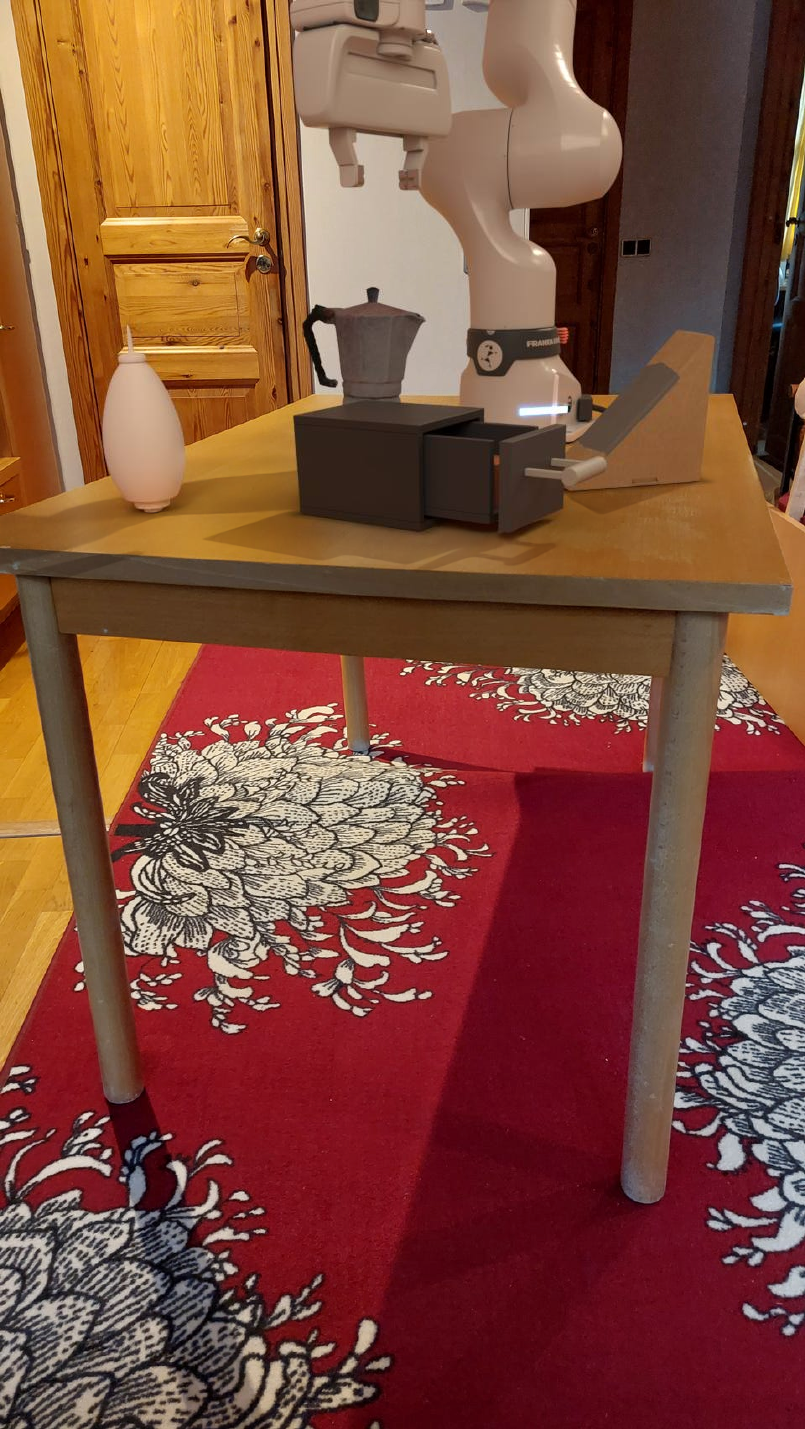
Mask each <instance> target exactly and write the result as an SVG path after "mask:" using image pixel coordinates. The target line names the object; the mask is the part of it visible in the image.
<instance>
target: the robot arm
mask: <svg viewBox="0 0 805 1429" xmlns="http://www.w3.org/2000/svg"><path fill="white" fill-rule="evenodd" d="M577 3H578V2H577V0H489V4H488V12H487V18H486V28H485V36H484V43H483V51H482V52H483V53H482V61H481V68H482V69H481V70H482V75H483V80H484V82H485V84H486V86H487V88H488V89H489V91H490V92H491V94H492V95H493V96H494V98H496V100H497V101H498V102H500V104H502V105H503V106H504V108H502V107H501V108H486V109H475V110H474V109H473V110H462V111H458V112H453V113H452V100H451V99H452V98H451V87H450V86H451V85H450V76H449V68H448V63H447V60H446V58H445V55H444V53H443V50H442V46H441V45H439V43H438V41H437V39H436V37H435V36H436V35H435V33H434V31H432V30H430V29H428V28H426V0H293V1H292V2H291V4H290V7H289V17H290V23H291V27H292V29H293V30H294V31H295V32H297V33H298V34H297V35H296V36H295V38H294V41H293V45H292V46H293V48H292V70H293V71H292V72H293V91H294V98H295V107H296V112H297V114H298V116H299V118H300V120H301V122H302V124H303V126H304V127H306V128H312V129H321V130H327V131H328V144H329V147H330V149H331V152H332V154H333V156H334V159H335V161H336V164H337V166H338V172H339V184H340V186H341V187H342V188H347V189H350V188H352V189H354V188H355V189H356V188H362V187H363V186H364V185H365V177H364V176H365V165H363V164H359V160H358V157H357V154H356V153H357V152H356V150H355V146H354V143H357V134H362V135H369V136H376V137H377V136H379V137H387V138H396V139H402V151H403V152H406V154H405V158H404V164H403V168H402V170H400V169H399V170H398V172H397V173H398V180H399V181H398V188H399V189H400V191H405V192H406V191H407V192H413V191H418V193H419V194H420V195H421V197H422V198H423V200H424V201H425V202H426V203H427V204H428V205H429V206H430V207H431V208H433V209H434V210H435V211H437V212H438V214H440V215H441V217H443V218H444V220H445V221H446V222H447V223H448V224H449V225H448V226H450V228H451V229H452V231H453V233H454V234H455V236H456V238H457V239H458V241H459V244H460V247H461V249H462V252H463V255H464V259H465V263H466V268H467V276H468V286H469V287H468V288H469V289H468V290H469V291H468V292H469V309H470V310H469V315H470V320H469V322H470V323H469V324H470V325H469V326H470V327H469V328H468V329H467V330H466V340H465V345H466V356H467V358H468V363H467V366H466V368H464V370H463V371H462V372H461V374H460V380H459V382H460V383H459V393H458V406H462V407H477V408H484V422H490V423H503V424H517V425H530V426H539V429H541V428H544V427H547V426H550V425H553V424H565V425H567V426H566V443H571V442H575V441H577V440H578V439H579V438H580V437H581V436H582V435H583V434H584V433H585V431H586V430H587V429H588V428H589V427H590V426H591V425H592V424H593V423H594V422H595V421H596V420H597V418H594V417H593V412H597V413H600V414H602V413H603V412H604V411H605V410H606V409H607V408H608V407H604V406H603V405H602V406H601V405H598V404H595V403H594V399H593V397H592V395H591V393H590V394H587V393H585V394H583V393H582V387H581V383H580V382H579V381H578V380H577V378H576V377H575V376H574V374H573V373H572V372H571V371H570V370H569V368H568V367H567V366H566V364H565V362H564V361H563V360H562V359H561V357H560V354H561V352H562V351H561V344H567V343H568V340H569V331H568V328H567V327H557V326H556V325H555V320H556V319H555V317H556V316H555V315H556V290H557V288H556V287H557V286H556V284H557V268H556V264H555V261H554V259H553V256H551V254H550V253H549V252H548V251H547V250H546V249H545V248H543V247H542V246H540V245H538V244H537V243H535V242H533V241H531V240H530V239H528V238H526V237H524V236H521V235H520V234H518V233H516V232H515V230H514V229H513V227H512V224H511V220H510V212H511V211H514V210H527V209H547V208H548V209H549V208H550V209H551V208H566V207H571V206H575V205H579V204H583V203H588V202H591V201H594V200H599V199H601V198H603V197H604V196H605V194H607V192H608V191H609V190H610V189H611V187H612V186H613V184H614V182H615V180H616V178H617V176H618V174H619V171H620V168H621V163H622V160H623V159H622V158H623V141H622V136H621V132H620V129H619V127H618V124H617V122H616V121H615V118H614V117H613V116H612V114H611V113H610V112H609V111H608V110H607V109H606V108H604V107H602V106H601V105H600V104H597V103H596V102H594V101H593V100H592V99H591V98H589V96H588V95H587V94H586V93H585V92H584V91H583V89H582V88H581V87H580V85H579V84H578V81H577V79H576V77H575V73H574V66H573V65H574V63H573V60H574V59H573V58H574V57H573V54H574V36H575V27H576V17H577V16H576V15H577Z"/></svg>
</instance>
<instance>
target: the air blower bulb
mask: <svg viewBox="0 0 805 1429" xmlns="http://www.w3.org/2000/svg"><path fill="white" fill-rule="evenodd" d="M126 341H127V349H128V352H125V353H121V354H119V355H118V358H117V360H118V363H120V364H119V365H118V366H117V368H116V369H115V371H114V373H113V375H112V377H111V380H110V382H109V386H108V389H107V393H106V395H105V396H106V397H105V400H104V408H103V412H102V413H103V414H102V431H101V432H102V433H101V434H102V446H103V453H104V458H105V463H106V466H107V470H108V473H109V475H110V478H111V479H112V482H113V484H114V486H115V487H116V489H117V491H118V492H119V493H120V495H121V496H122V497H123V499H124V500H125V501H127V502H131V503H133V504H134V507H135V509H139V510H143V512H145V513H158V512H162V511H163V510H164V509H163V508H166V507H168V506H170V505H171V500H172V499H174V498H176V497H177V496H178V495H179V492H180V490H181V488H182V485H183V481H184V478H185V472H186V460H187V459H186V458H187V457H186V444H185V438H184V432H183V429H182V424H181V421H180V418H179V414H178V411H177V409H176V406H175V404H174V401H173V400H172V397H171V395H170V394H169V391H168V390H167V388H166V386H165V384H164V383H163V381H162V379H161V377H160V376H159V375H158V374H157V373H156V371H155V370H154V369H153V368H152V367H151V365H149V363H147V362H146V361H147V356H146V354H145V353H143V352H135V349H134V343H133V338H132V333H131V329H130V326H129V324H127V325H126Z"/></svg>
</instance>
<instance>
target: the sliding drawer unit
mask: <svg viewBox="0 0 805 1429" xmlns="http://www.w3.org/2000/svg"><path fill="white" fill-rule="evenodd" d="M566 426H567V425H565V424H553V425H550V426H547V427H544V428H541V429H539V426H530V425H517V424H503V423H490V422H476V421H465V422H461V423H458V424H454V425H450V426H447V427H443V428H439V429H436V430H432V431H429V432H425V433H422V434H423V480H424V515H426V516H433V517H440V518H447V519H450V520H455V521H463V522H470V523H477V524H483V525H491V524H493V523H496V522H498V524H497V526H498V528H497V529H498V532H501V533H506V534H507V533H509V534H510V533H513V532H515V531H517V530H519V529H521V528H523V527H526V526H528V525H530V524H532V523H534V522H536V521H538V520H541V519H543V518H546V517H547V516H549V515H552V514H554V513H556V512H558V511H561V510H562V509H564V500H565V498H564V494H565V488H564V485H565V486H568V487H572V486H574V485H577V484H579V483H581V482H584V481H586V480H588V479H591V478H593V477H595V476H598V475H600V474H602V473H604V472H605V470H606V468H607V463H606V460H605V459H604V458H603V457H600V456H596V457H594V458H591V459H589V460H586V461H579V460H569V459H565V453H566V451H567V450H566V449H567V448H566V446H567V442H566ZM494 455H499V507H498V508H494ZM565 467H568V468H566V469H565Z"/></svg>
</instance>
